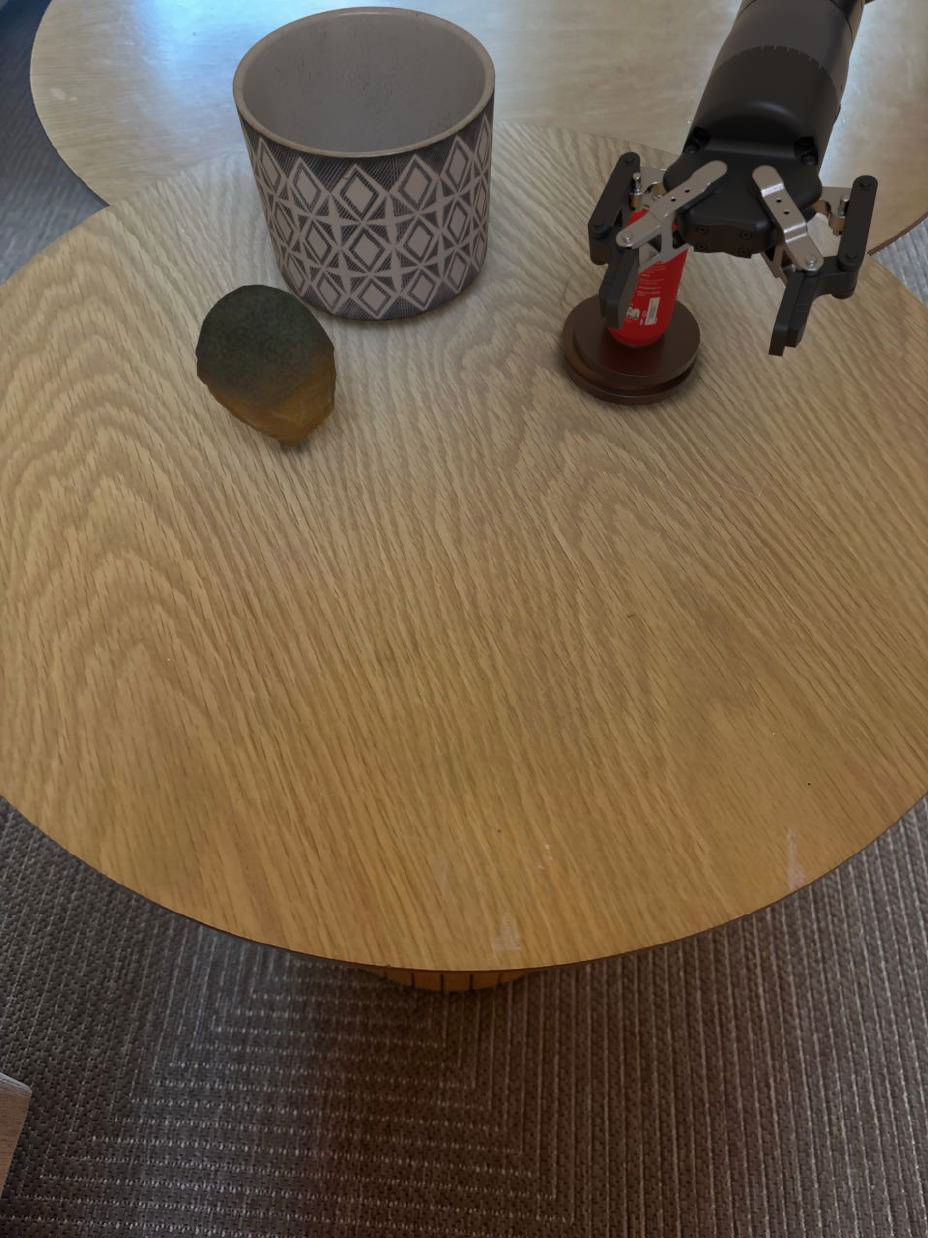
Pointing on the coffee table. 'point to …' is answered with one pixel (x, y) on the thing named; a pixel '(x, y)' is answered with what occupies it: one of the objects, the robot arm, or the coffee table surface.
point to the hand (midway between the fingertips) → (692, 332)
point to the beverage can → (651, 297)
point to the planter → (371, 157)
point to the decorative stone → (268, 362)
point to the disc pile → (628, 357)
